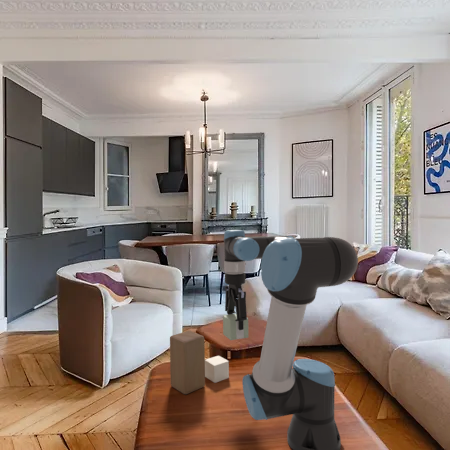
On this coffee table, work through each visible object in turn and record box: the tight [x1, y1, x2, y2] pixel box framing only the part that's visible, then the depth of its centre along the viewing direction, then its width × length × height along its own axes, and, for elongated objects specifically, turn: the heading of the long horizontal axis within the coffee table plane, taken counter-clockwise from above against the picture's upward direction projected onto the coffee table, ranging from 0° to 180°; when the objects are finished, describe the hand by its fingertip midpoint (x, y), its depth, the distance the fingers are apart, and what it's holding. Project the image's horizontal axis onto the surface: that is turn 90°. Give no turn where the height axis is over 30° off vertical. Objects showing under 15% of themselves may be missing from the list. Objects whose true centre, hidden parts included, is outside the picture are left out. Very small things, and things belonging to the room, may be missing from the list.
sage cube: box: [222, 313, 249, 341], centre depth 132 cm, size 7×7×7 cm
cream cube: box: [205, 355, 230, 384], centre depth 146 cm, size 7×7×7 cm
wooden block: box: [169, 330, 206, 395], centre depth 138 cm, size 10×10×20 cm
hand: (235, 334), depth 132 cm, fingers closed on sage cube, 7 cm apart
